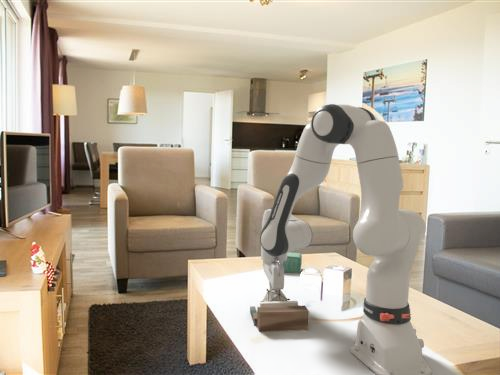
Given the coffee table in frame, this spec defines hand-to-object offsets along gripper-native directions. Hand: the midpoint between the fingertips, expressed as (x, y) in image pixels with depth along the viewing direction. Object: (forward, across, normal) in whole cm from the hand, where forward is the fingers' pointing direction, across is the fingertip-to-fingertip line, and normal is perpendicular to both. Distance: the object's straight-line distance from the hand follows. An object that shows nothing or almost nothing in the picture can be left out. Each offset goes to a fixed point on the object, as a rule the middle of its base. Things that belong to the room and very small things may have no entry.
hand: (272, 293), depth 158 cm
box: (+5, +42, -13) cm, 44 cm away
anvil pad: (+5, -11, 0) cm, 12 cm away
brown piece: (+5, -12, 0) cm, 13 cm away
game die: (+5, -5, 0) cm, 7 cm away
